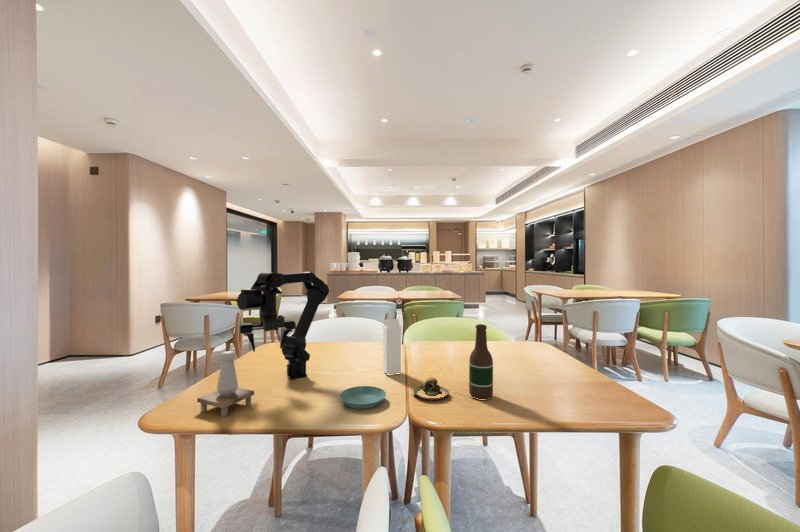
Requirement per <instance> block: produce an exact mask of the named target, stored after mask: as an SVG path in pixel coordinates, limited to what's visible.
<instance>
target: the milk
mask: <svg viewBox="0 0 800 532" xmlns="http://www.w3.org/2000/svg"><path fill="white" fill-rule="evenodd" d="M382 329H383V330H382V331H383V332H382V345H383V347H382V353H383V354H382V368H383V369H382V371H383V370H384V372H385V373H386V374H396V373H402V372H401V371H402V369H401V368H402V367H401V366H402V365H401V364H402V359H401V358H402V353H401V352H402V327H401V324H400V319H399V318H391V319H385V320H384V324H383V327H382ZM384 372H383V373H384ZM385 373H384V374H385Z"/></svg>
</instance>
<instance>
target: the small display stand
mask: <svg viewBox="0 0 800 532" xmlns="http://www.w3.org/2000/svg"><path fill="white" fill-rule="evenodd" d="M254 395H255V390H250V389H247V388H240V387H238V388H237V390H236V392H235V393H234V395H231V396H228V397H222V396H221V395H220V393H219V392H218V390H215V391H212V392H209V393H207V394H204V395H202V396H198V397H197V399H196V400H197V401H196V402H197V403H199V404H200V412H201V413H204V412H206V411H208V406H213V407H216V408H220V412H221V414H220V416H221V418H225V417H227V416H228V407H230V406H232V405H234V404H237V403H239V402H242V401H243V400H245V406H251V405H252V396H254Z"/></svg>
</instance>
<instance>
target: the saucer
mask: <svg viewBox="0 0 800 532" xmlns="http://www.w3.org/2000/svg"><path fill="white" fill-rule="evenodd" d="M386 396H387V392H386V391H385V390H383V388H379V387H376V386H371V385H361V386H353V387H350V388H347V389H345V390H343V391H342V392H340V395H339V398H340V400H341V401H342V402H343V404H345V405H346V406H347V407H349V408H351V409H355V410H366V409H367V408H368V409H371V407H372V408H375V407H377V406H379V405H380V404H381V403H382V402H383V401H384V400H385V398H386ZM374 406H375V407H374Z"/></svg>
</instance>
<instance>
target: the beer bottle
mask: <svg viewBox="0 0 800 532" xmlns="http://www.w3.org/2000/svg"><path fill="white" fill-rule="evenodd" d="M474 328H475V329H476V330H475V345H474V349H472V351H471V353H470V354H469V355H470V356H469V362H468V370H469V371H468V372H469V373H468V381H469V382H468V387H469V388H468V390H469V393H470V394H471V396H472V397H475V398H478V399H488V398H490V397H492V396H493V395H494V360H493V357H492V354H491V353H490V351H489V348H488V341H487V329H488V327H487V325H485V324H480V323H479V324H476V325H475V327H474ZM470 394H469V395H470ZM471 396H470V397H471ZM472 397H471V398H472ZM492 398H493V397H492Z"/></svg>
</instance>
